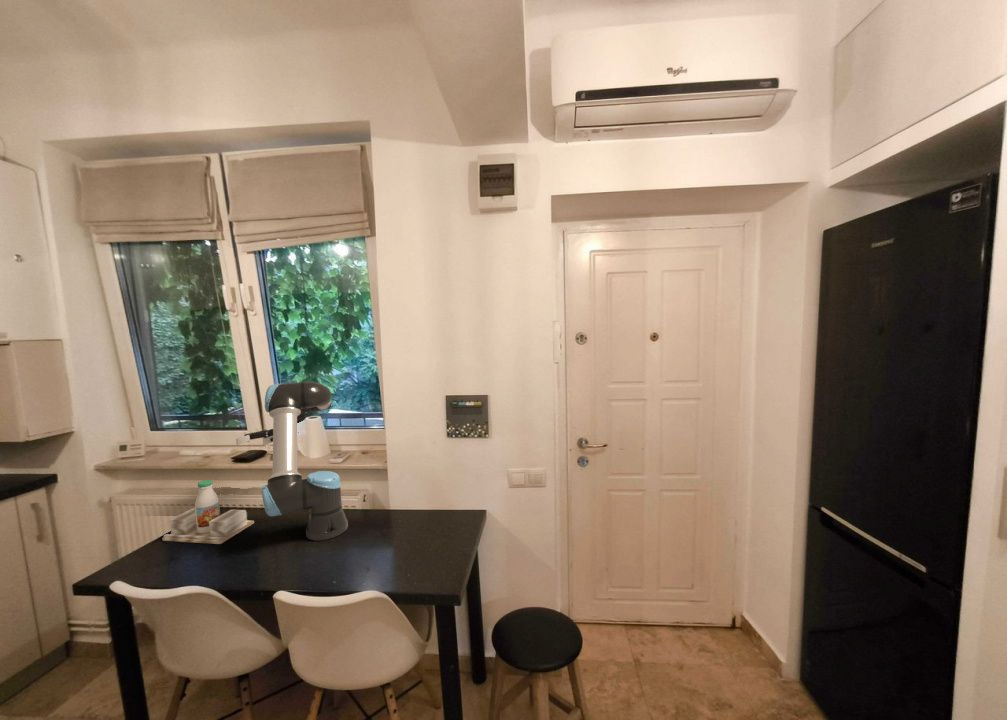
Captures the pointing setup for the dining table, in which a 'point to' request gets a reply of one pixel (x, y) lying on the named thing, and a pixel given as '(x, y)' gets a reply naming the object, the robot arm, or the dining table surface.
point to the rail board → (219, 527)
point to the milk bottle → (206, 506)
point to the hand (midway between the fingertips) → (250, 441)
